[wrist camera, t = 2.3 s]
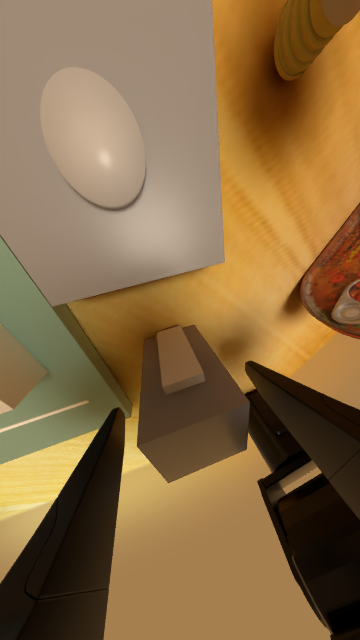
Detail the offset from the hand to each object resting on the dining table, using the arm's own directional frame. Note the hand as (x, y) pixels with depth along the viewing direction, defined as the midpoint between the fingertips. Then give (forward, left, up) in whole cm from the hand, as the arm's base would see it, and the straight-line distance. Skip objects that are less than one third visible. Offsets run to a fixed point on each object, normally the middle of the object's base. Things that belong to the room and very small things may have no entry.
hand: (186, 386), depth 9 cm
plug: (0, 0, -4) cm, 4 cm away
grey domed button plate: (+12, +1, -4) cm, 12 cm away
